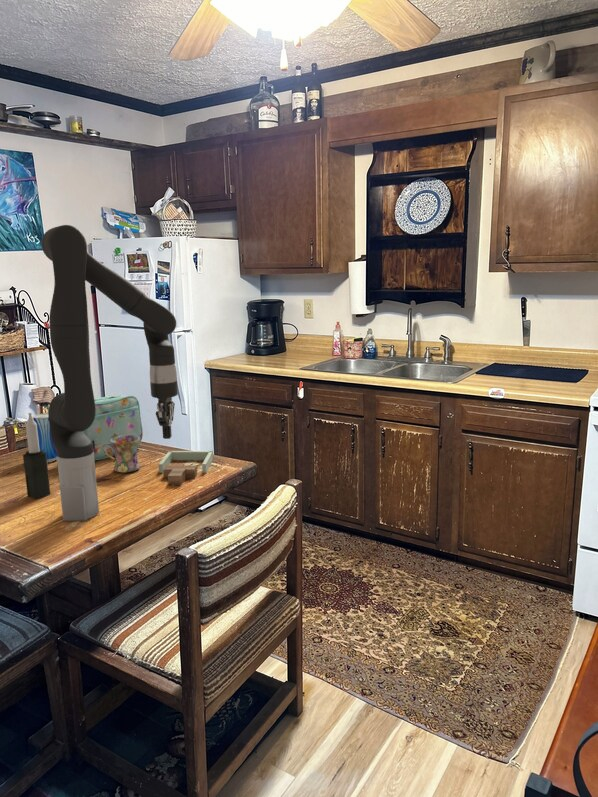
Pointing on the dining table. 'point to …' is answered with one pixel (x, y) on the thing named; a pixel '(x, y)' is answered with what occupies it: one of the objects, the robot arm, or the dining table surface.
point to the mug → (125, 453)
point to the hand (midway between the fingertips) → (167, 437)
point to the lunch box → (114, 422)
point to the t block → (179, 473)
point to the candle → (35, 464)
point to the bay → (187, 458)
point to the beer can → (45, 436)
